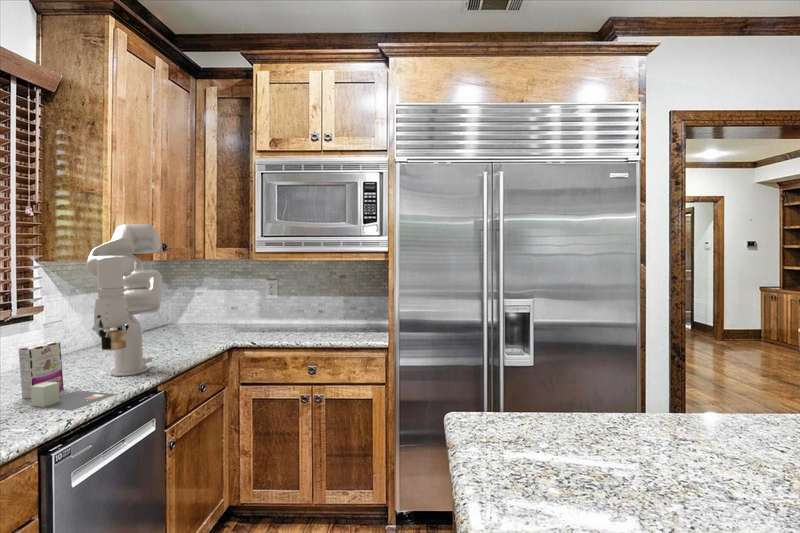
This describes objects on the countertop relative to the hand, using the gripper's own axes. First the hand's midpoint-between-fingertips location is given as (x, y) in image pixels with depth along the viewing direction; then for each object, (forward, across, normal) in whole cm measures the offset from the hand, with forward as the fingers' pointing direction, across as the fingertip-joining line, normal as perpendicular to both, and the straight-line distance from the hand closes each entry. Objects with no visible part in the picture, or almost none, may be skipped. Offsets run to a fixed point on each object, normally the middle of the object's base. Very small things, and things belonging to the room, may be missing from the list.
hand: (113, 346), depth 164 cm
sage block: (+14, +18, -8) cm, 24 cm away
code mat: (+15, +13, -3) cm, 20 cm away
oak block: (+1, 0, 0) cm, 1 cm away
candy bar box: (+15, +10, -20) cm, 27 cm away
